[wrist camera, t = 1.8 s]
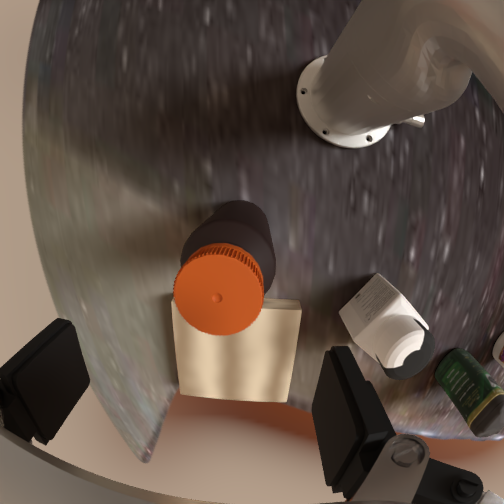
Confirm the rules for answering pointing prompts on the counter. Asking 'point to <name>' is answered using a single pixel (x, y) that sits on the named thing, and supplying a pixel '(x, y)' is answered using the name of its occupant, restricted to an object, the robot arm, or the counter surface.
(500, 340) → the milk bottle
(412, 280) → the counter surface
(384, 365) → the container
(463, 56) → the robot arm
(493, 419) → the coffee jar
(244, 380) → the plate
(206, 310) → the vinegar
